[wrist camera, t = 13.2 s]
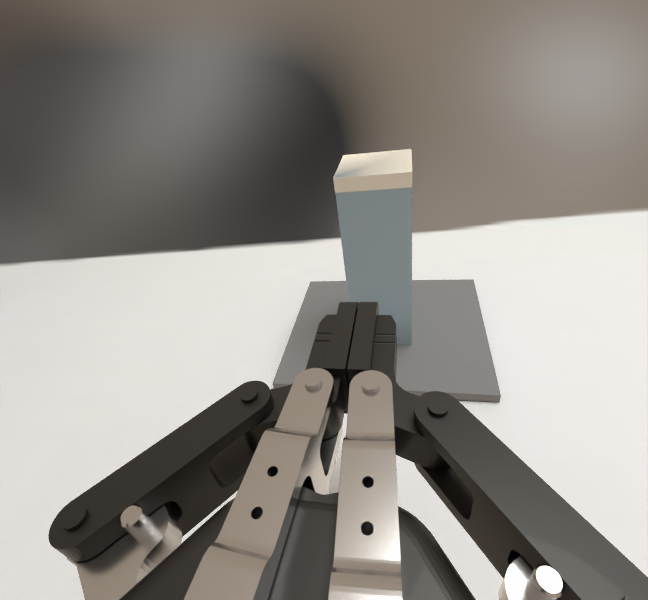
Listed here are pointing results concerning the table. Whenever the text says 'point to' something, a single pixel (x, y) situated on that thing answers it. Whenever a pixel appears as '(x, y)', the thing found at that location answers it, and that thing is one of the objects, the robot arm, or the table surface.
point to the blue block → (378, 232)
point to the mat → (413, 340)
